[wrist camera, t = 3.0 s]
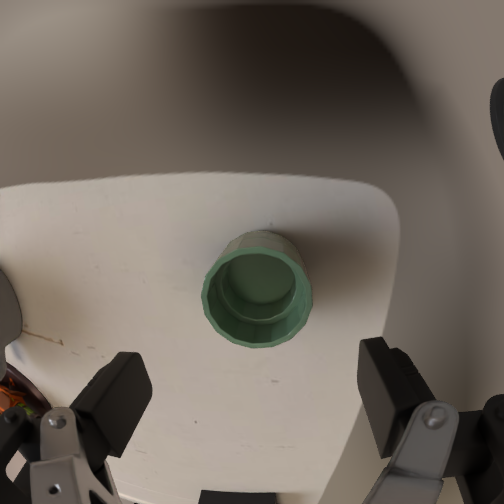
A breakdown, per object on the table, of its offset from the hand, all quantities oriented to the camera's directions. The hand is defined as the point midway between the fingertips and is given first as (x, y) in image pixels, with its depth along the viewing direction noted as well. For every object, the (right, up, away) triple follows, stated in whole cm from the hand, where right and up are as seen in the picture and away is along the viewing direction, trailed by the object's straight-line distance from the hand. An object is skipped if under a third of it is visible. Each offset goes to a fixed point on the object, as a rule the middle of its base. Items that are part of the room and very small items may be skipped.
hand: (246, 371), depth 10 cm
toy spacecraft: (-37, -17, +19) cm, 45 cm away
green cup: (+1, +3, +10) cm, 11 cm away
